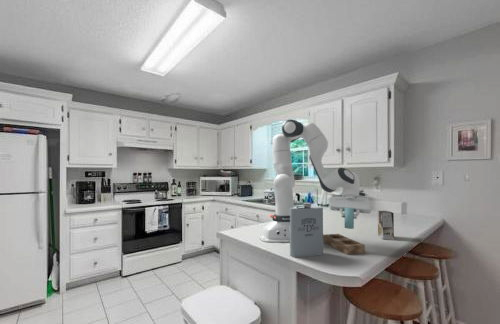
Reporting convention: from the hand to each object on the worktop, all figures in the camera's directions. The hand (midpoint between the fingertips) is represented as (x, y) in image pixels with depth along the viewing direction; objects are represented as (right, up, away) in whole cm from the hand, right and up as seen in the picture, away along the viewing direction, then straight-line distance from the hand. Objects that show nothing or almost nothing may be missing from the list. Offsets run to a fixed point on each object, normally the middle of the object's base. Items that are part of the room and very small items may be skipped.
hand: (349, 217), depth 120 cm
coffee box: (+33, -19, +24) cm, 45 cm away
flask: (-23, -16, -7) cm, 29 cm away
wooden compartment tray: (-1, -17, +5) cm, 18 cm away
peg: (0, -5, 0) cm, 5 cm away
